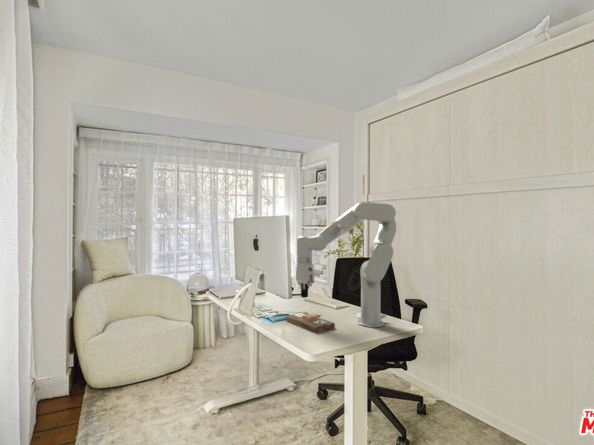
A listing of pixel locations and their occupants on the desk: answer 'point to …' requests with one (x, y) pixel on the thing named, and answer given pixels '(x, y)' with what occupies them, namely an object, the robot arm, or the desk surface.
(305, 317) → the button two dots
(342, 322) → the desk surface
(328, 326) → the button board
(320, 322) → the button three dots
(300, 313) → the button one dot
